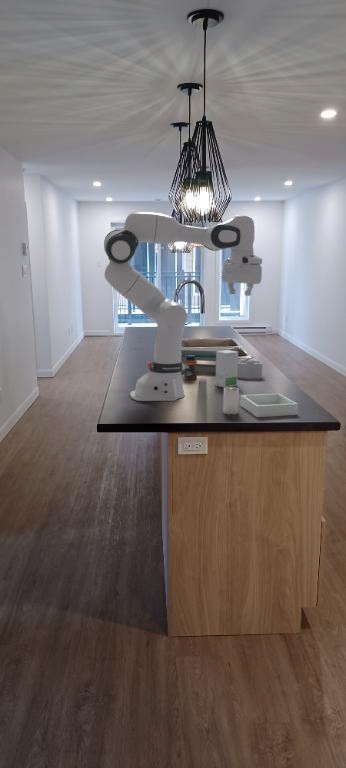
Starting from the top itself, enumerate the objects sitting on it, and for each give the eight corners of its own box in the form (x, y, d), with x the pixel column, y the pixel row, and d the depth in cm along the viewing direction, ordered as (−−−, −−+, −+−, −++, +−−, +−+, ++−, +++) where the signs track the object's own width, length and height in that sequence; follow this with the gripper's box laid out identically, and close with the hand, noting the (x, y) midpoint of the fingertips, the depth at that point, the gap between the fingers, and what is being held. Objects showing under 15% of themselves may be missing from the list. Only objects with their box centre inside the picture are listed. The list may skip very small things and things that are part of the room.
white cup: (225, 414, 193) (226, 390, 191) (220, 410, 199) (221, 387, 196) (240, 414, 195) (241, 389, 193) (234, 409, 200) (235, 386, 198)
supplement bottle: (196, 377, 254) (196, 354, 251) (197, 380, 248) (197, 356, 245) (183, 377, 253) (184, 354, 251) (184, 380, 248) (184, 356, 245)
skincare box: (224, 388, 233) (225, 353, 230) (214, 385, 238) (215, 351, 235) (237, 385, 239) (239, 351, 235) (227, 382, 244) (228, 349, 240)
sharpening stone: (178, 371, 268) (178, 349, 265) (180, 368, 275) (181, 347, 273) (227, 373, 264) (228, 351, 261) (229, 370, 271) (229, 349, 269)
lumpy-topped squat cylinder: (262, 379, 252) (263, 361, 251) (235, 378, 253) (236, 360, 251) (259, 374, 263) (260, 357, 261) (233, 374, 263) (233, 356, 261)
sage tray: (256, 417, 191) (257, 406, 190) (240, 405, 206) (240, 395, 205) (297, 414, 195) (297, 403, 194) (278, 403, 210) (278, 393, 209)
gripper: (219, 258, 214) (217, 293, 217) (252, 259, 197) (250, 296, 200) (231, 259, 217) (229, 293, 220) (265, 259, 201) (263, 296, 204)
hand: (239, 294), depth 210 cm, fingers open, 8 cm apart
